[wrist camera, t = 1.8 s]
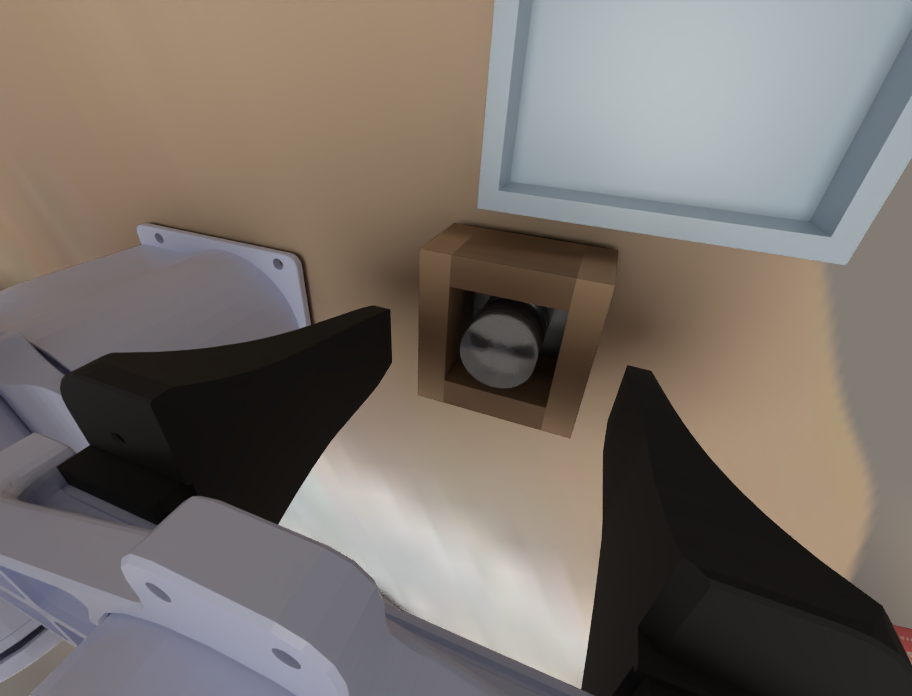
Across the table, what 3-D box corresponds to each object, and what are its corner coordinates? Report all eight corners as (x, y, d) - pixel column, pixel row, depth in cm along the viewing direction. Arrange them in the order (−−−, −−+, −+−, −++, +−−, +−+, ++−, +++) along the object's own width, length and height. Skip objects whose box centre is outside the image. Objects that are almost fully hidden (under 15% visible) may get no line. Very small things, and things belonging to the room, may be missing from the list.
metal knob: (458, 342, 18) (421, 397, 15) (466, 228, 15) (422, 265, 12) (574, 370, 17) (561, 437, 13) (606, 252, 14) (599, 299, 11)
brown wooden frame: (454, 223, 15) (419, 249, 12) (618, 250, 13) (615, 285, 11) (445, 376, 18) (417, 419, 16) (572, 410, 17) (562, 462, 14)
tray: (494, 195, 14) (477, 208, 13) (542, -262, 9) (523, -339, 7) (816, 241, 12) (845, 265, 10) (1142, -349, 7) (1308, -491, 5)
